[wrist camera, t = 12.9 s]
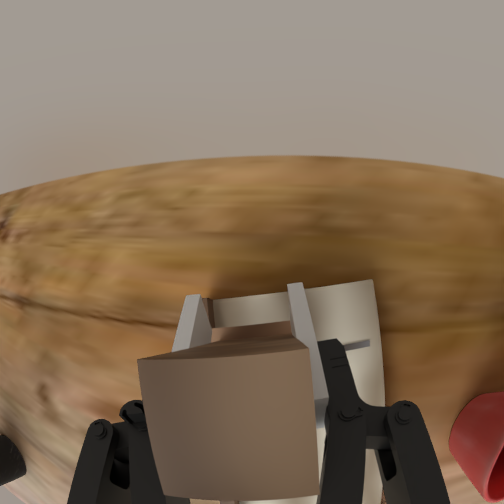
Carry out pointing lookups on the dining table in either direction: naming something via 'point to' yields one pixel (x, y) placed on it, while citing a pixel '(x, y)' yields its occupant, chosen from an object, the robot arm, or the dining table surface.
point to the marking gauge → (234, 416)
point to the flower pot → (481, 444)
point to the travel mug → (10, 461)
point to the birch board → (325, 327)
